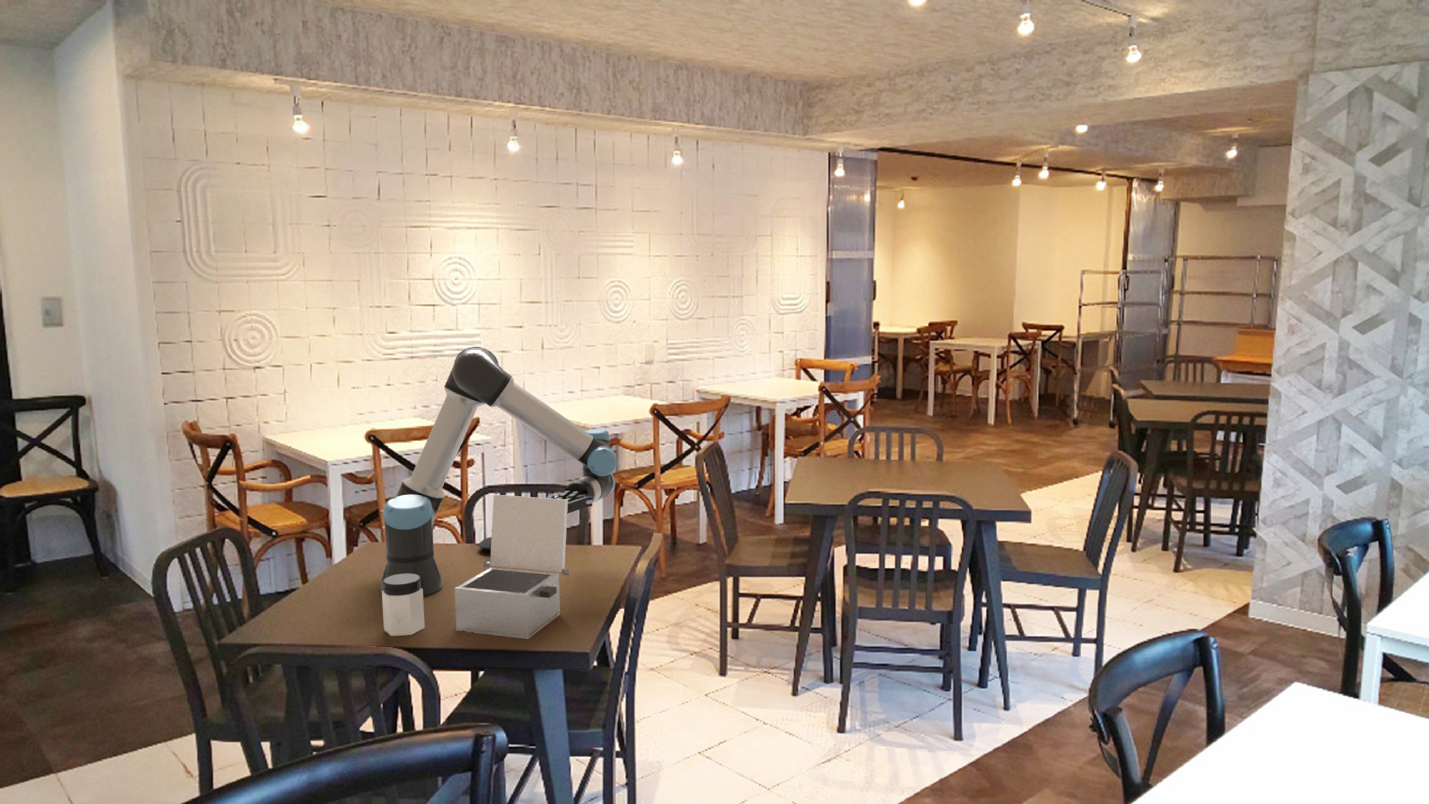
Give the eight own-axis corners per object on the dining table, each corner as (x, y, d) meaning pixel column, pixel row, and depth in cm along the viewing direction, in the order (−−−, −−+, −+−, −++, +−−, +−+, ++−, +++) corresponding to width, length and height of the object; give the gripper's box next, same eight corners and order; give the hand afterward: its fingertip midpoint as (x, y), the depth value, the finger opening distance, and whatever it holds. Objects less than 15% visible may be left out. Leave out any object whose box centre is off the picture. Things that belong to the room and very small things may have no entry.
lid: (490, 565, 233) (496, 563, 236) (561, 572, 227) (567, 570, 230) (493, 495, 233) (499, 494, 236) (565, 499, 228) (570, 499, 231)
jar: (380, 637, 215) (377, 585, 213) (387, 624, 223) (384, 574, 221) (421, 635, 216) (419, 583, 214) (427, 622, 224) (424, 572, 222)
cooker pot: (487, 604, 236) (485, 560, 234) (572, 613, 229) (570, 568, 228) (447, 629, 219) (445, 583, 218) (537, 640, 212) (536, 592, 211)
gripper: (604, 508, 258) (566, 531, 236) (560, 505, 262) (518, 527, 239) (604, 481, 257) (565, 501, 235) (559, 478, 261) (517, 498, 238)
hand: (541, 514), depth 237 cm, fingers closed
